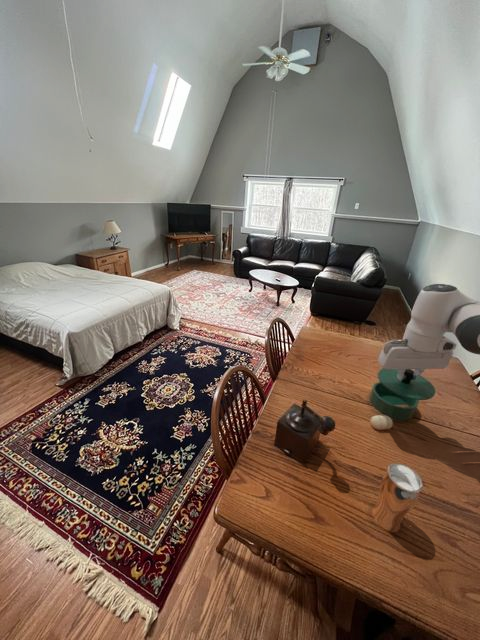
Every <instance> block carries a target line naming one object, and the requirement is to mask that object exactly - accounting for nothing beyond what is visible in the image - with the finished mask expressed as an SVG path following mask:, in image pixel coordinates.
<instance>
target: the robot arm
mask: <svg viewBox="0 0 480 640" xmlns="http://www.w3.org/2000/svg"><path fill="white" fill-rule="evenodd" d="M410 316H411V317H410V320H409V321H408V323H407V324H406V326H405V330H404V333H403V337H402V338H401V339H394V338H393V339H391V340H389V341H387V342H385V344H384V346H383V348H382V350H381V352H380V354H379V357H378V359H377V362H378V365H380V367H381V368H382V369H383V368H384V369H386V370H392V369H397V371H398V375H397V378H398V379H399V380H405V378H406V375H405V374H404V373H403V372H405V370H406V369H411V370H413V371H414V374H413V376H412V379H411V380H417V378H418V376H419V375H422V374H423V373H424V372H425V370H443V369H446V368H447V367H448V366H449V365H450V363H451V360H452V358H453V356H454V355H453V354H454V350H455V349H456V347H457V343H455V341H453V340H452V339H450V338H448V337H447V336H446V335H444V334H446V333H452V334H453V335H454V336H455V337H456V339H457V341H458V343H459V344H460V346H461V348H463V349H464V350H465V351H467V352H469V353H471V354H475V355H478V356H479V355H480V301H479V300H477V299H473V298H471V297H469V296H467V295H466V294H464V293H463V292H461V291H460V289H458V287H456V286H454V285H452V284H445V283H434V284H429V285H426V286H424V287H422V289H421V290H420V292H419V293H418V295H417V297H416V300H415V302H414V304H413V307H412V309H411V314H410Z"/></svg>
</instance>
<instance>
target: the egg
mask: <svg viewBox="0 0 480 640" xmlns="http://www.w3.org/2000/svg"><path fill="white" fill-rule="evenodd" d="M369 422H370V426H371V427H372V428H373V429H375V430H379V431H380V430H381V431H382V430H385V431H386V430H390V429H392V427H393V425H394V422H393V418H390V417H388V416H386V415H384V414H376V415H373V416H371V417H370V420H369Z"/></svg>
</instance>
